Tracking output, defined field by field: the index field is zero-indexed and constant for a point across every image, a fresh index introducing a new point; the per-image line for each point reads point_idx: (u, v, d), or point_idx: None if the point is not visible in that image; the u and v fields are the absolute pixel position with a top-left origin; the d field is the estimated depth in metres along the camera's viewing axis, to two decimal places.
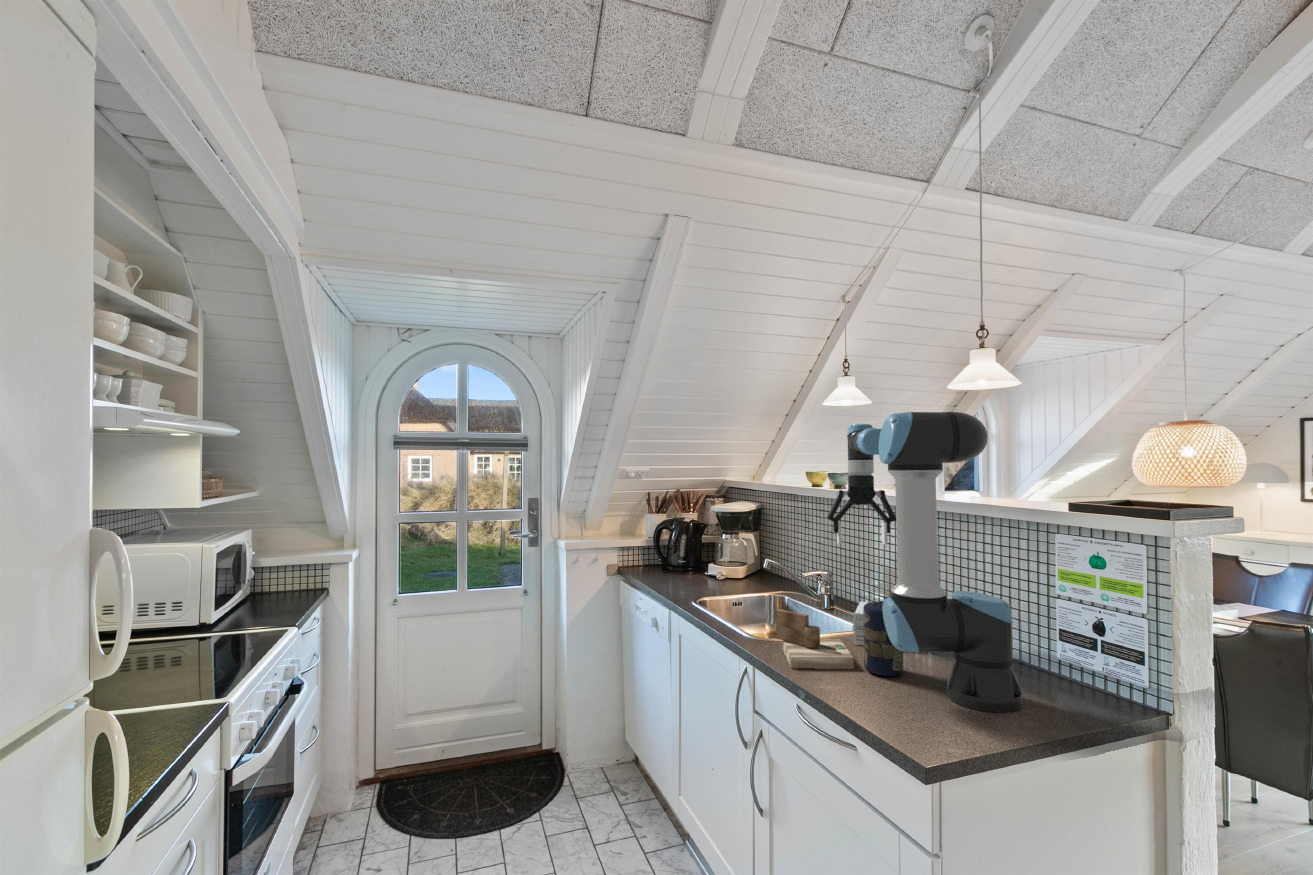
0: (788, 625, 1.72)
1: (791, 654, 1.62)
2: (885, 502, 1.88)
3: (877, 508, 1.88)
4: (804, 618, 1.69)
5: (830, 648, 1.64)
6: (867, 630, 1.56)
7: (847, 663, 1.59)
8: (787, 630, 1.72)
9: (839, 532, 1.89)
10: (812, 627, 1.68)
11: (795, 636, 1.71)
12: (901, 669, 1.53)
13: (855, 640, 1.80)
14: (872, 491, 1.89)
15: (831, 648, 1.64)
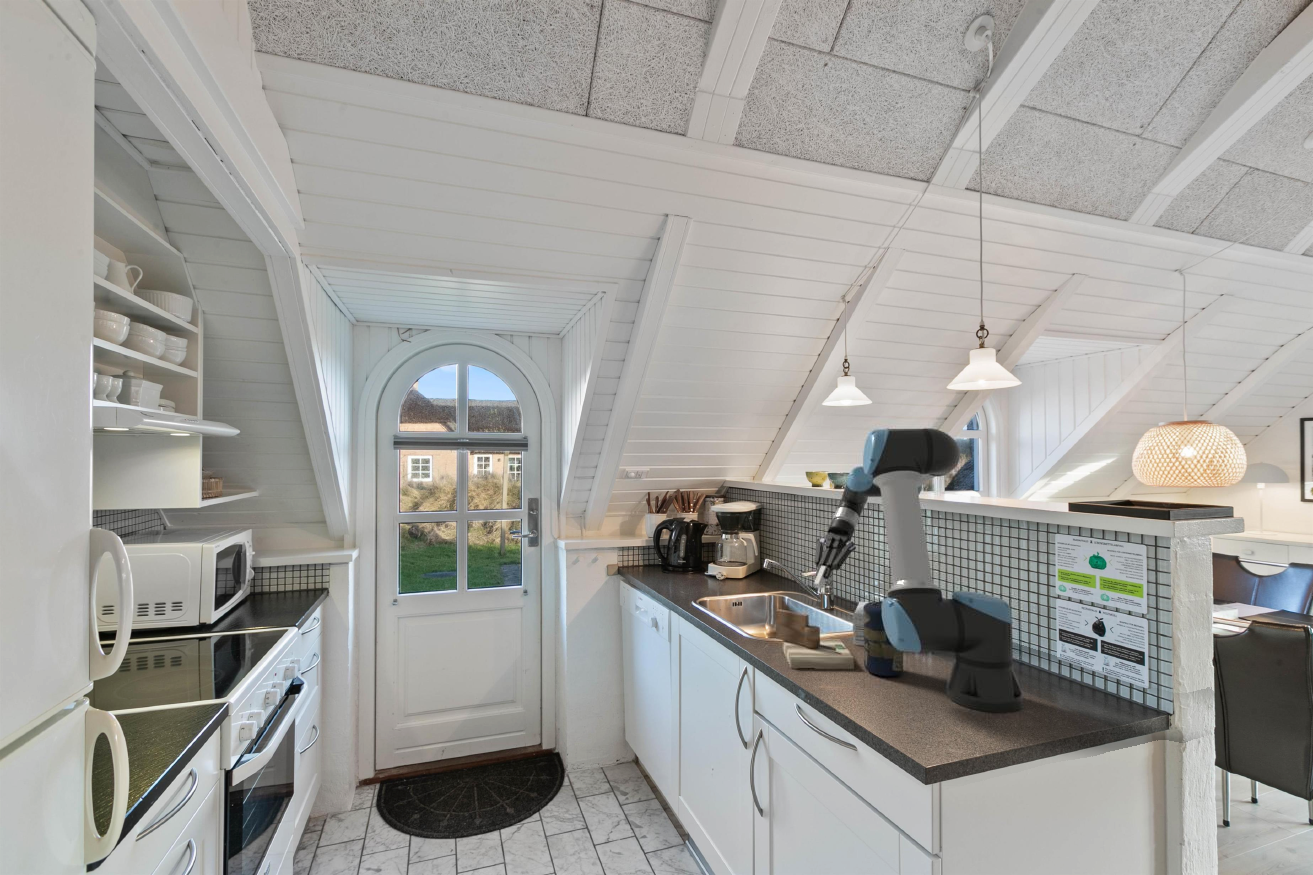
0: (788, 625, 1.72)
1: (791, 654, 1.62)
2: (843, 549, 1.88)
3: (833, 551, 1.90)
4: (804, 618, 1.69)
5: (830, 648, 1.64)
6: (867, 630, 1.56)
7: (847, 663, 1.59)
8: (787, 630, 1.72)
9: (818, 573, 1.86)
10: (812, 627, 1.68)
11: (795, 636, 1.71)
12: (901, 669, 1.53)
13: (855, 640, 1.80)
14: (847, 537, 1.91)
15: (831, 648, 1.64)
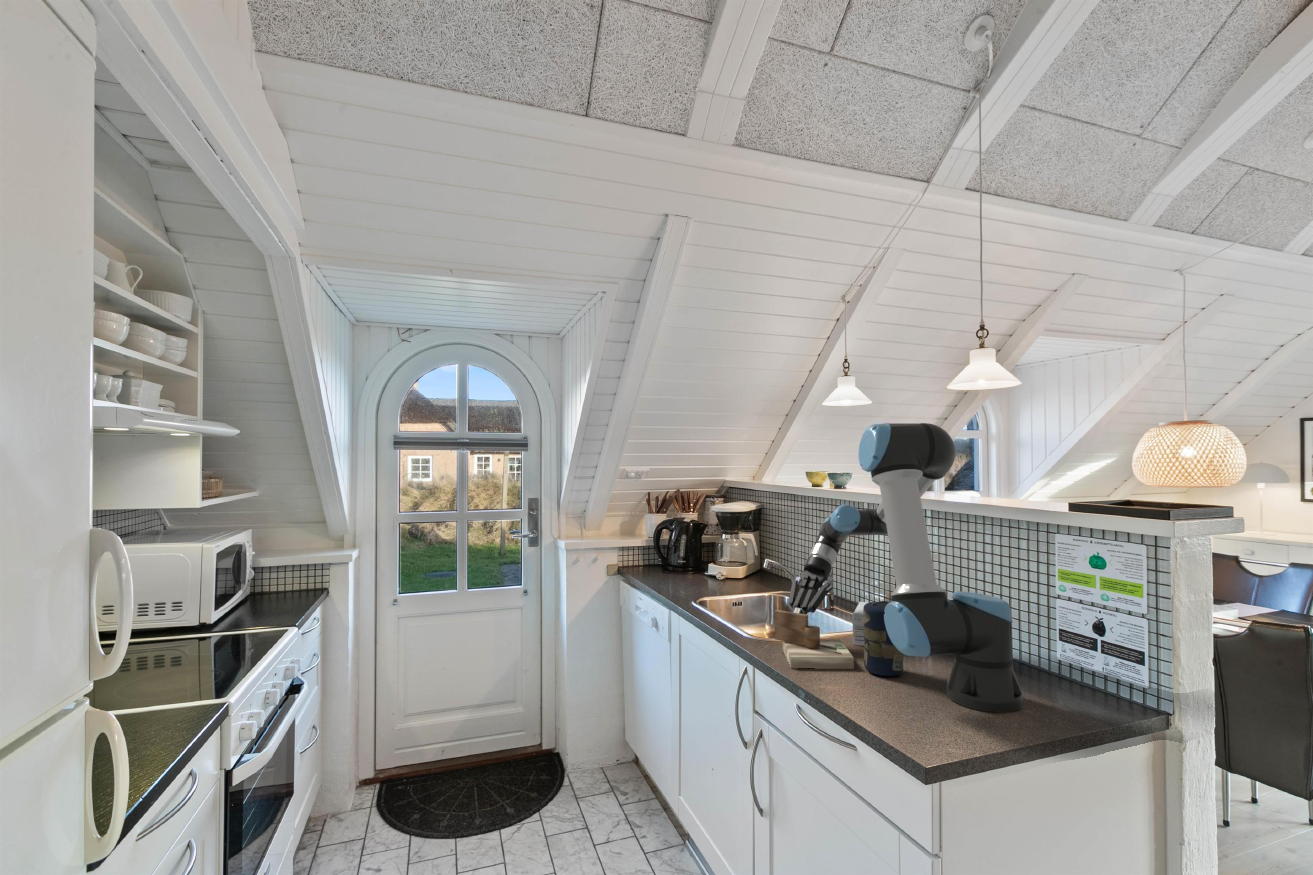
0: (787, 625, 1.72)
1: (791, 654, 1.62)
2: (819, 590, 1.77)
3: (809, 592, 1.79)
4: (804, 618, 1.69)
5: (831, 648, 1.64)
6: (867, 630, 1.56)
7: (847, 663, 1.59)
8: (786, 630, 1.72)
9: None
10: (812, 627, 1.68)
11: (795, 636, 1.70)
12: (901, 669, 1.53)
13: (854, 640, 1.80)
14: (823, 576, 1.81)
15: (832, 648, 1.64)
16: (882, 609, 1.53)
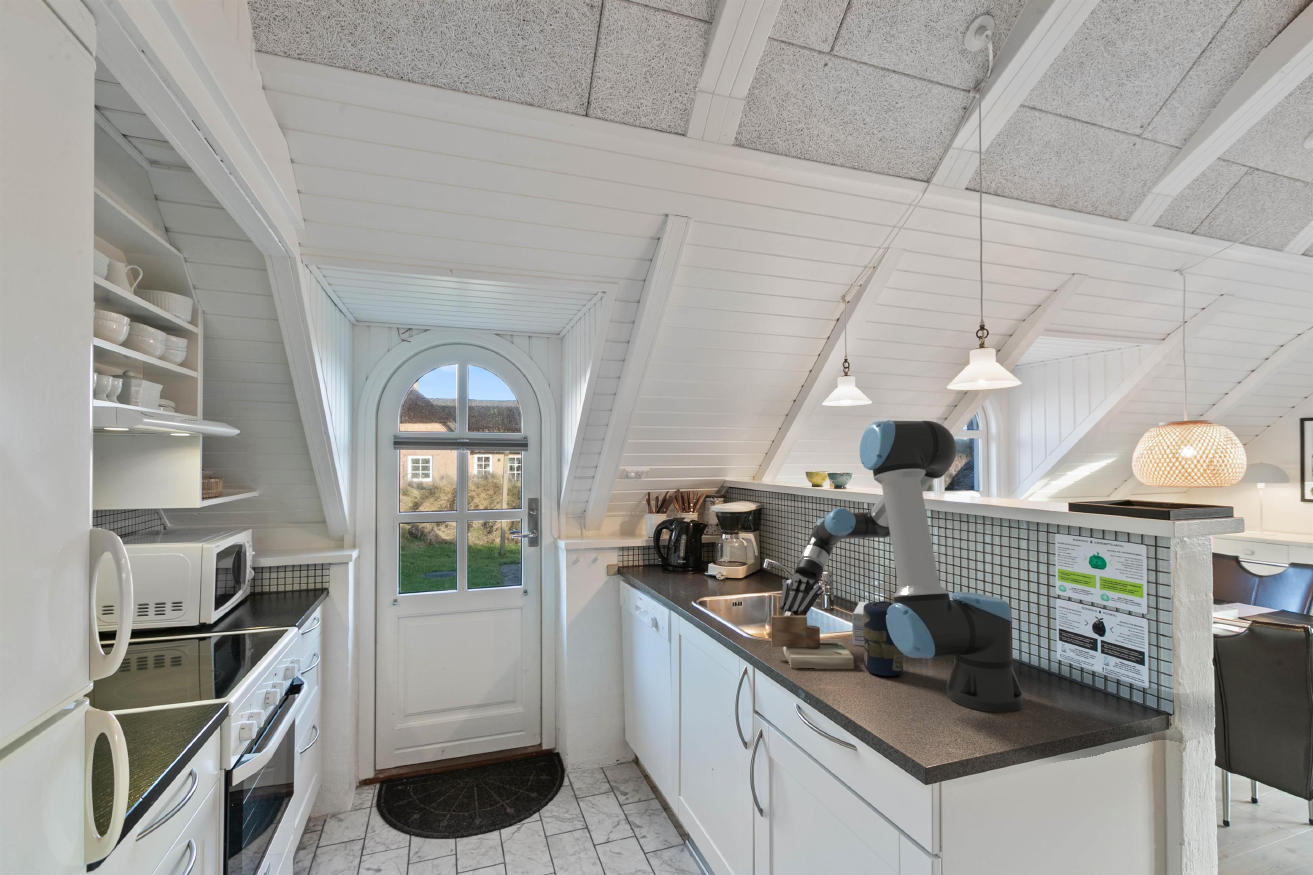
0: (787, 629, 1.68)
1: (791, 654, 1.62)
2: (810, 594, 1.74)
3: (800, 595, 1.75)
4: (805, 619, 1.67)
5: (833, 644, 1.67)
6: (867, 630, 1.56)
7: (847, 663, 1.59)
8: (785, 635, 1.68)
9: None
10: (812, 627, 1.68)
11: (795, 640, 1.67)
12: (901, 669, 1.53)
13: (854, 640, 1.80)
14: (814, 579, 1.77)
15: (834, 644, 1.67)
16: (882, 609, 1.53)
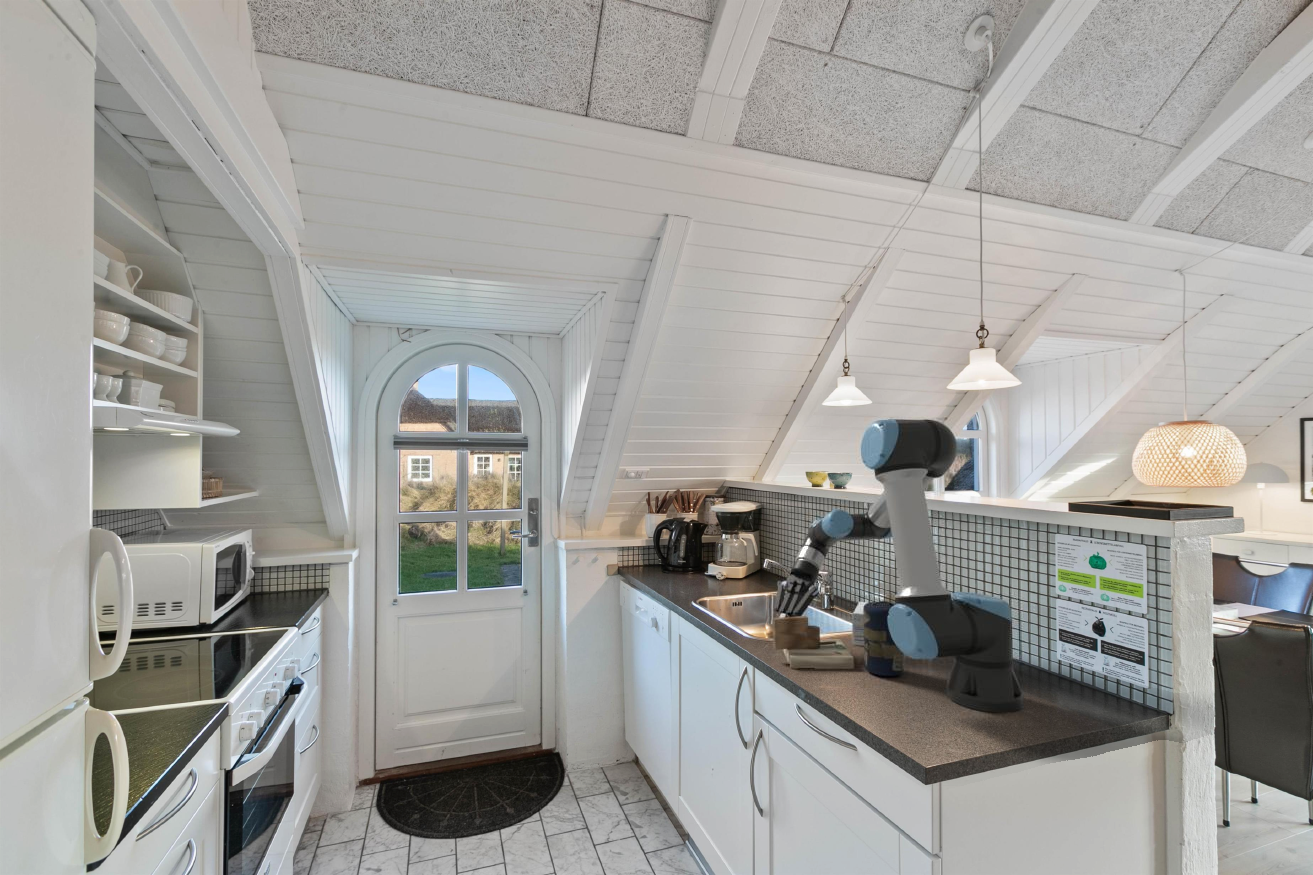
0: (789, 631, 1.66)
1: (791, 654, 1.62)
2: (806, 595, 1.72)
3: (795, 597, 1.73)
4: (807, 620, 1.67)
5: (831, 642, 1.69)
6: (867, 630, 1.56)
7: (847, 663, 1.59)
8: (788, 637, 1.66)
9: None
10: (812, 627, 1.68)
11: (797, 641, 1.66)
12: (901, 669, 1.53)
13: (854, 640, 1.80)
14: (810, 580, 1.75)
15: (832, 642, 1.69)
16: (882, 609, 1.53)
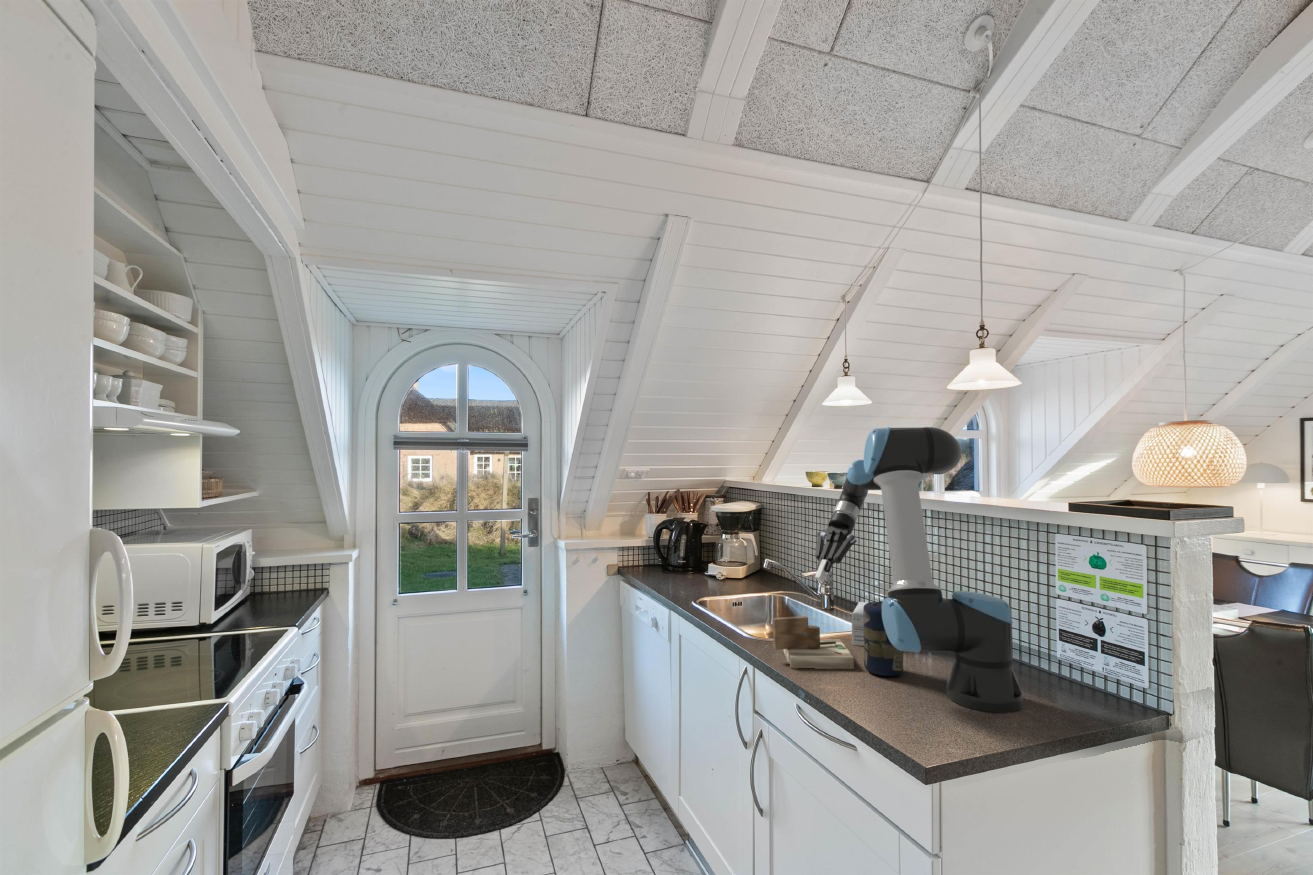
0: (789, 631, 1.66)
1: (791, 654, 1.62)
2: (844, 543, 1.88)
3: (834, 545, 1.90)
4: (807, 620, 1.67)
5: (831, 642, 1.69)
6: (867, 630, 1.56)
7: (847, 663, 1.59)
8: (788, 637, 1.66)
9: (819, 567, 1.86)
10: (812, 627, 1.68)
11: (797, 641, 1.66)
12: (901, 669, 1.53)
13: (853, 640, 1.80)
14: (847, 530, 1.91)
15: (832, 642, 1.69)
16: None
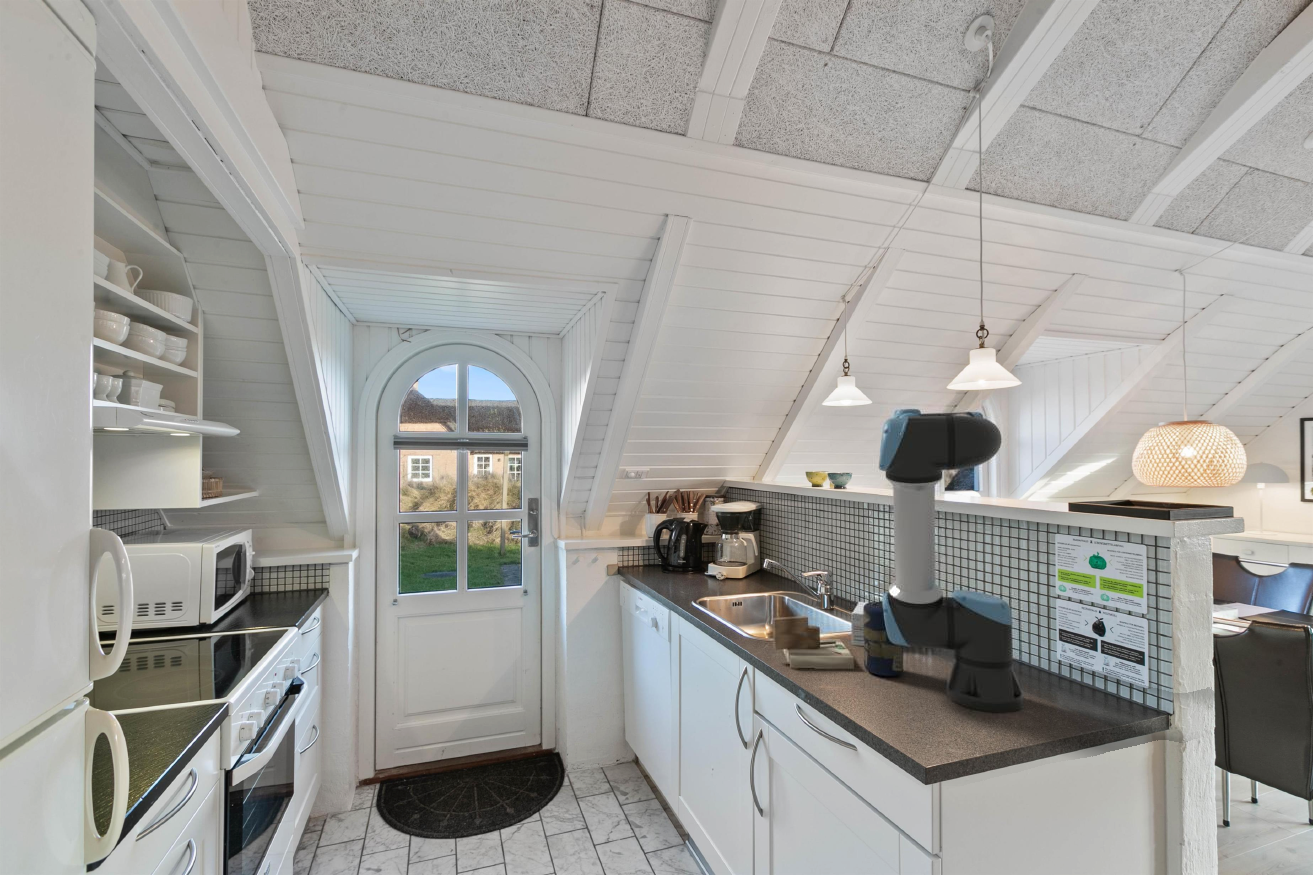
0: (789, 631, 1.66)
1: (791, 654, 1.62)
2: None
3: None
4: (807, 620, 1.67)
5: (831, 642, 1.69)
6: (867, 630, 1.56)
7: (847, 663, 1.59)
8: (788, 637, 1.66)
9: None
10: (812, 627, 1.68)
11: (797, 641, 1.66)
12: (901, 669, 1.53)
13: (853, 640, 1.80)
14: None
15: (832, 642, 1.69)
16: (882, 609, 1.53)
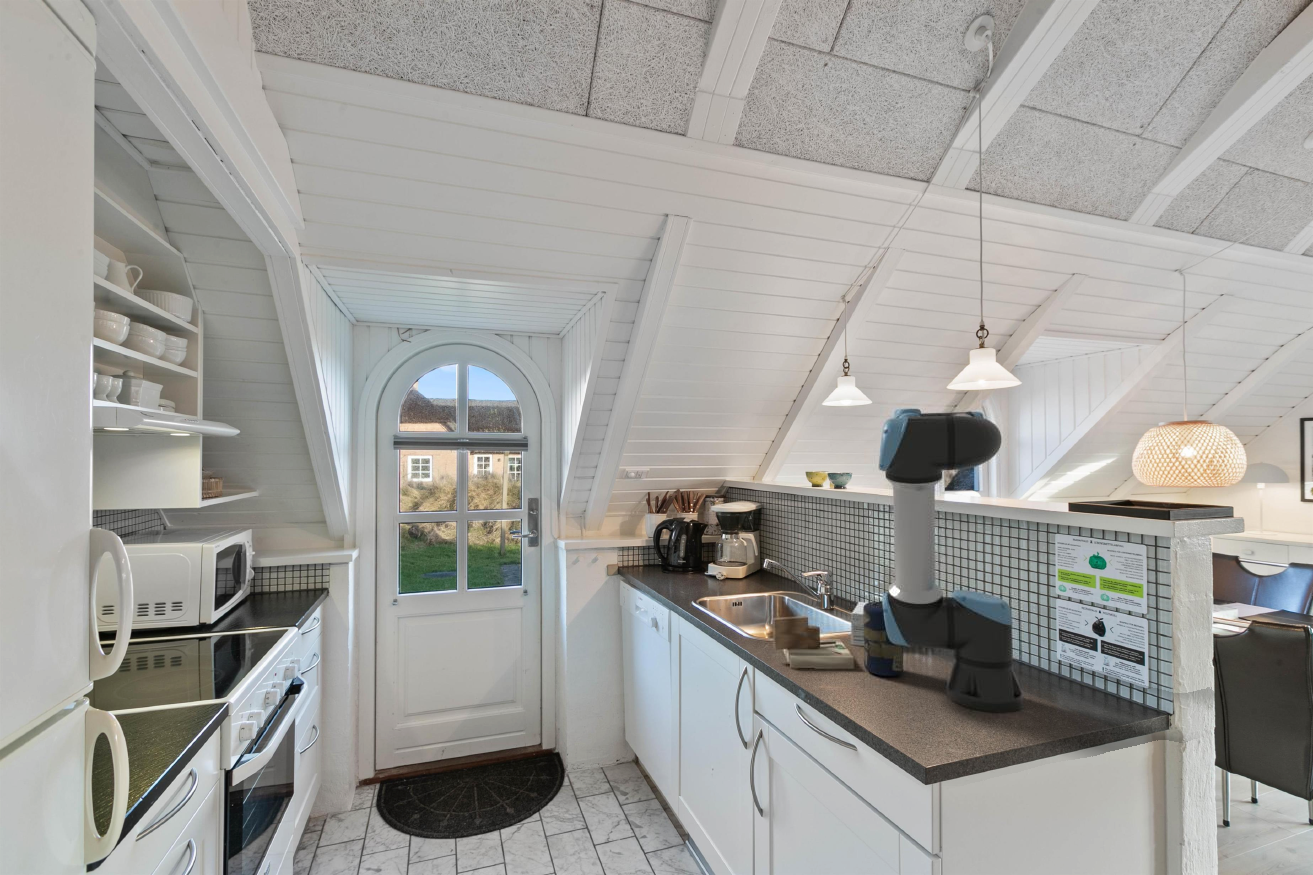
0: (789, 631, 1.66)
1: (791, 654, 1.62)
2: None
3: None
4: (807, 620, 1.67)
5: (831, 642, 1.69)
6: (867, 630, 1.56)
7: (847, 663, 1.59)
8: (788, 637, 1.66)
9: None
10: (812, 627, 1.68)
11: (797, 641, 1.66)
12: (901, 669, 1.53)
13: (852, 640, 1.80)
14: None
15: (832, 642, 1.69)
16: (882, 609, 1.53)
